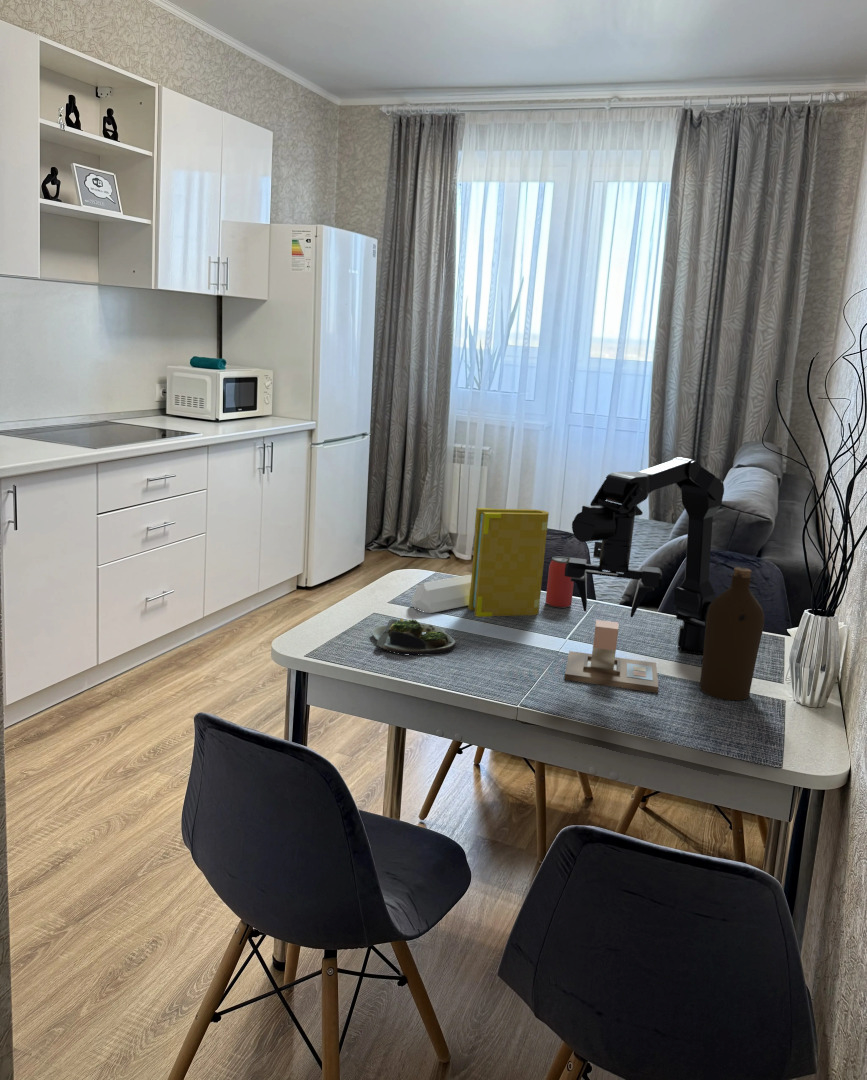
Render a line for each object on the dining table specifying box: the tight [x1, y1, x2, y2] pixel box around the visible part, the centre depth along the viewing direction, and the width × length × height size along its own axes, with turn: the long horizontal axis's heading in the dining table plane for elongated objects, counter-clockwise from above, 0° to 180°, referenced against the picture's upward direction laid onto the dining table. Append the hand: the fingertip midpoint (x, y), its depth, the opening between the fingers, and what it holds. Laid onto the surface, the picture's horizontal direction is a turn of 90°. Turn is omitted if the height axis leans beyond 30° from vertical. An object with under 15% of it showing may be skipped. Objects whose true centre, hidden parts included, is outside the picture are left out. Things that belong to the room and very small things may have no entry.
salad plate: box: [371, 618, 456, 656], centre depth 192 cm, size 19×18×5 cm
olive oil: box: [699, 566, 765, 701], centre depth 173 cm, size 11×11×25 cm
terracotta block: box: [592, 619, 620, 652], centre depth 179 cm, size 4×4×4 cm
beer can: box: [545, 556, 575, 609], centre depth 225 cm, size 7×7×12 cm
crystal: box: [410, 573, 472, 614], centre depth 219 cm, size 7×7×24 cm
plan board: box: [563, 650, 659, 694], centre depth 180 cm, size 18×14×2 cm
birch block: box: [591, 641, 617, 670], centre depth 180 cm, size 4×4×4 cm
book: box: [467, 507, 550, 618], centre depth 214 cm, size 17×7×25 cm, turn 106°
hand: (608, 613), depth 178 cm, fingers open, 9 cm apart
